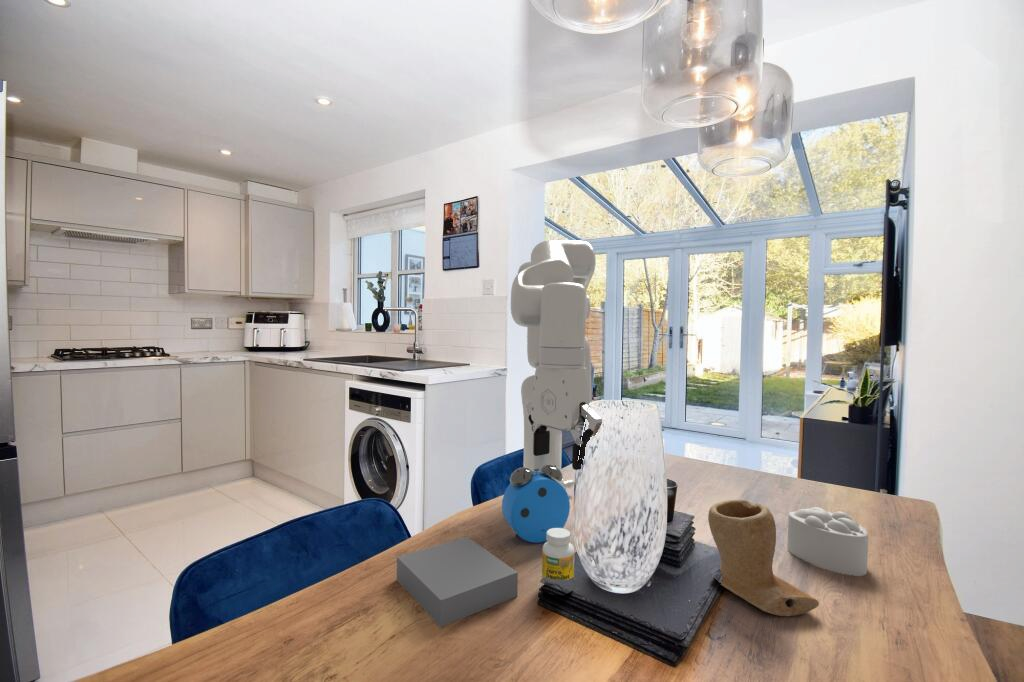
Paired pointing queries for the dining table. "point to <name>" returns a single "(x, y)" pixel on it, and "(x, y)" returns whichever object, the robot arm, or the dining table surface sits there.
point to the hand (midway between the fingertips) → (560, 461)
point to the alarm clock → (535, 502)
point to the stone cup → (753, 558)
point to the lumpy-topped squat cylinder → (828, 540)
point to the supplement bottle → (558, 555)
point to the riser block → (456, 579)
